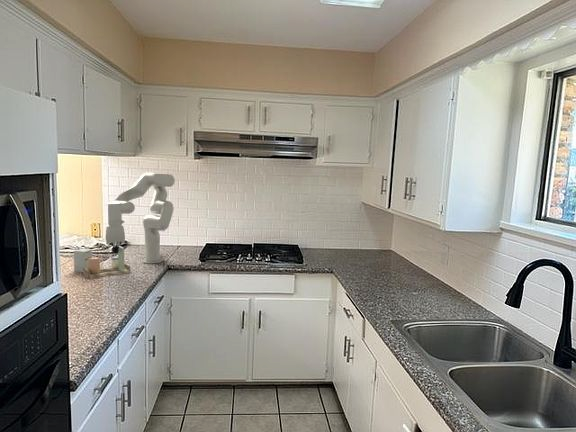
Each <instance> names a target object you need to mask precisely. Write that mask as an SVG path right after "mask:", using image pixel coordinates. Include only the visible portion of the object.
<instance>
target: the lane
mask: <svg viewBox="0 0 576 432" xmlns="http://www.w3.org/2000/svg"><path fill="white" fill-rule="evenodd" d="M124 266H125V268H126V269H127V270H122V271H120V270H118V267H114V268H111V267H107V268H100V274H93V275H90V271H89V270H88V269H87V268H85V267H83V272H82V275H83V276H84V277H86V279H93V278H101V277H108V276H114V275H122V274H129V273H131V265H129V264H128V263H126V261H124Z"/></svg>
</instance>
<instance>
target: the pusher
mask: <svg viewBox="0 0 576 432" xmlns="http://www.w3.org/2000/svg"><path fill="white" fill-rule="evenodd" d="M117 256H118V270H117V271H122V270H127V269H126V268H125V266H124V262H125V247H123V246H121V245H120V246H119V252H118V254H117Z"/></svg>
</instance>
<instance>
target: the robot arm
mask: <svg viewBox="0 0 576 432" xmlns="http://www.w3.org/2000/svg"><path fill="white" fill-rule="evenodd" d="M175 181H176V179H175V177H174V175H173V174H171V173H157V172H144V173H143V174H142V175H141V176H140V177H139V178H138V180H137V181H136V182H135V183H134V184H133V185H132V186H131V187H130V188H128V189H126V190H124V191H123V192H121V193H120V194H118V195H117V196H116V197H115V199H113V201H112V202H108V204H107V219H108V221H107V222H108V224H107V225H106V228H105V244H106V245H107V246H108V245H109V246H111V247H112V252H113V253H114V255H116V254H117V255H118V252H119V246H121V245H122V244H124V243H126V233H125V226H124V224H125V220H123V217H122V216H123V214H125V215H128V214H129V215H131V214H132V213H134V212H135V209H136V207H135V206H136V205H135V204H134V203H133V202H131V201H132V200H136V199H139V198H141V197H144V196H145V195H146V193H147V192H148V190H149V189H150V188H151V187H153V189H154V193H153V197H152V200H151V203H150V207H149V210H150V212H151V213H152V214H148V215H145V216H144V218H143V219H142V224H143V229H144V255H145V256H144V259H142V263H143V264H158V263H159V264H160V263H162V262H163V258H164V259H165V258H168V256H167V254H161V249H160V248H161V236H160V235H161V234H160V231H166V230H168V228H169V226H170V224H171V223H170V222H171V221H172V220H171V219H172V218H173V215H174V214H173V213H174V209H175V208H174V205H173V203H172V202H171V201H170V200H167V197H168V191H167V189H166V188H169V187H170V188H171V187H173V186H174V185H175Z"/></svg>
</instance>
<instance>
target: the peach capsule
mask: <svg viewBox="0 0 576 432" xmlns="http://www.w3.org/2000/svg"><path fill="white" fill-rule="evenodd" d="M100 258H101V257H99V256H92V257H91V258H88V270H89V271H90V275H93V274H100V273H101V272H100V269H101V259H100Z"/></svg>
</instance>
